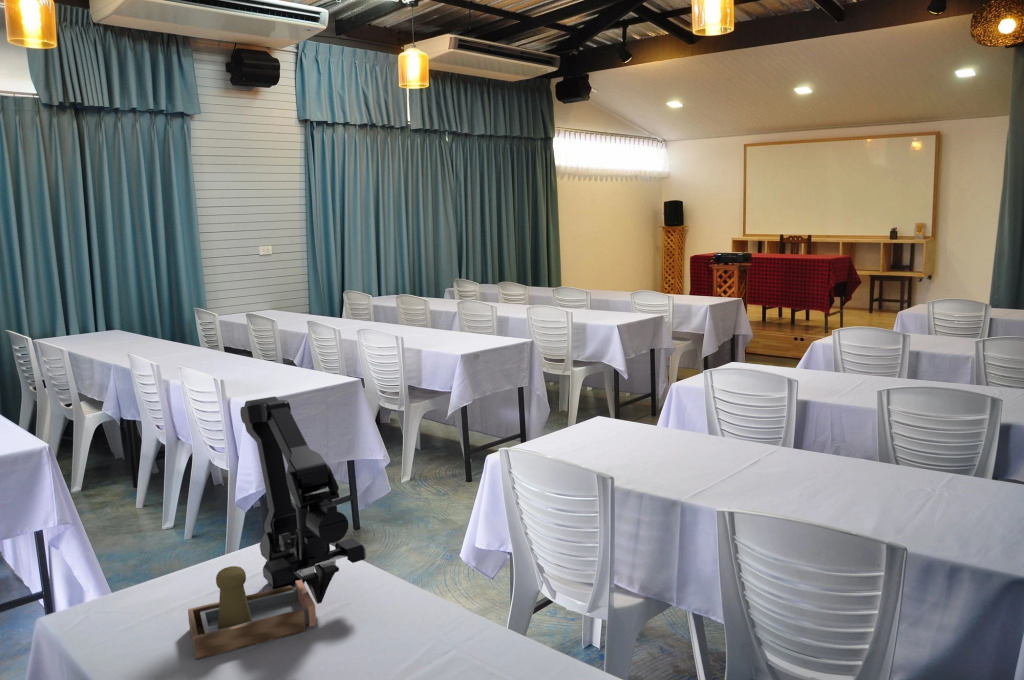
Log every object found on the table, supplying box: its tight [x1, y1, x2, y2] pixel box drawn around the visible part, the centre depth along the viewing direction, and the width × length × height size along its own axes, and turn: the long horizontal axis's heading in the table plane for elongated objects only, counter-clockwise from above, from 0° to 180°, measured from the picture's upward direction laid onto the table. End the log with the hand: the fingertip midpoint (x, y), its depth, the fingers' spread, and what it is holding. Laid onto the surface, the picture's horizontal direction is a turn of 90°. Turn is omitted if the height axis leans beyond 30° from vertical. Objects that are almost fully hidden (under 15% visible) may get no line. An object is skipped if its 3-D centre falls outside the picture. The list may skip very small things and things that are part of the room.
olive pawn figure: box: [215, 565, 252, 630], centre depth 144 cm, size 6×6×11 cm
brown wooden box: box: [187, 585, 306, 661], centre depth 146 cm, size 19×12×4 cm, turn 117°
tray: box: [200, 580, 317, 634], centre depth 146 cm, size 19×12×4 cm, turn 117°
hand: (318, 602), depth 152 cm, fingers closed
